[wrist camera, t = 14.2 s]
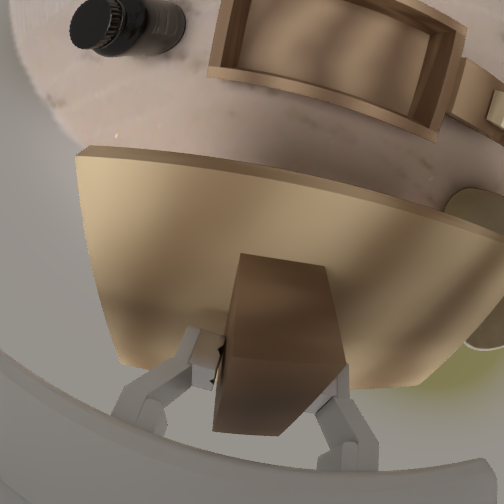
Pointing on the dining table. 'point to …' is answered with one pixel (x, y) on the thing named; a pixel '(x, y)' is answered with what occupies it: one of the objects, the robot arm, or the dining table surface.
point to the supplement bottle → (127, 27)
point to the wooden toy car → (497, 110)
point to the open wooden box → (358, 59)
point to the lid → (279, 277)
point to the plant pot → (495, 219)
